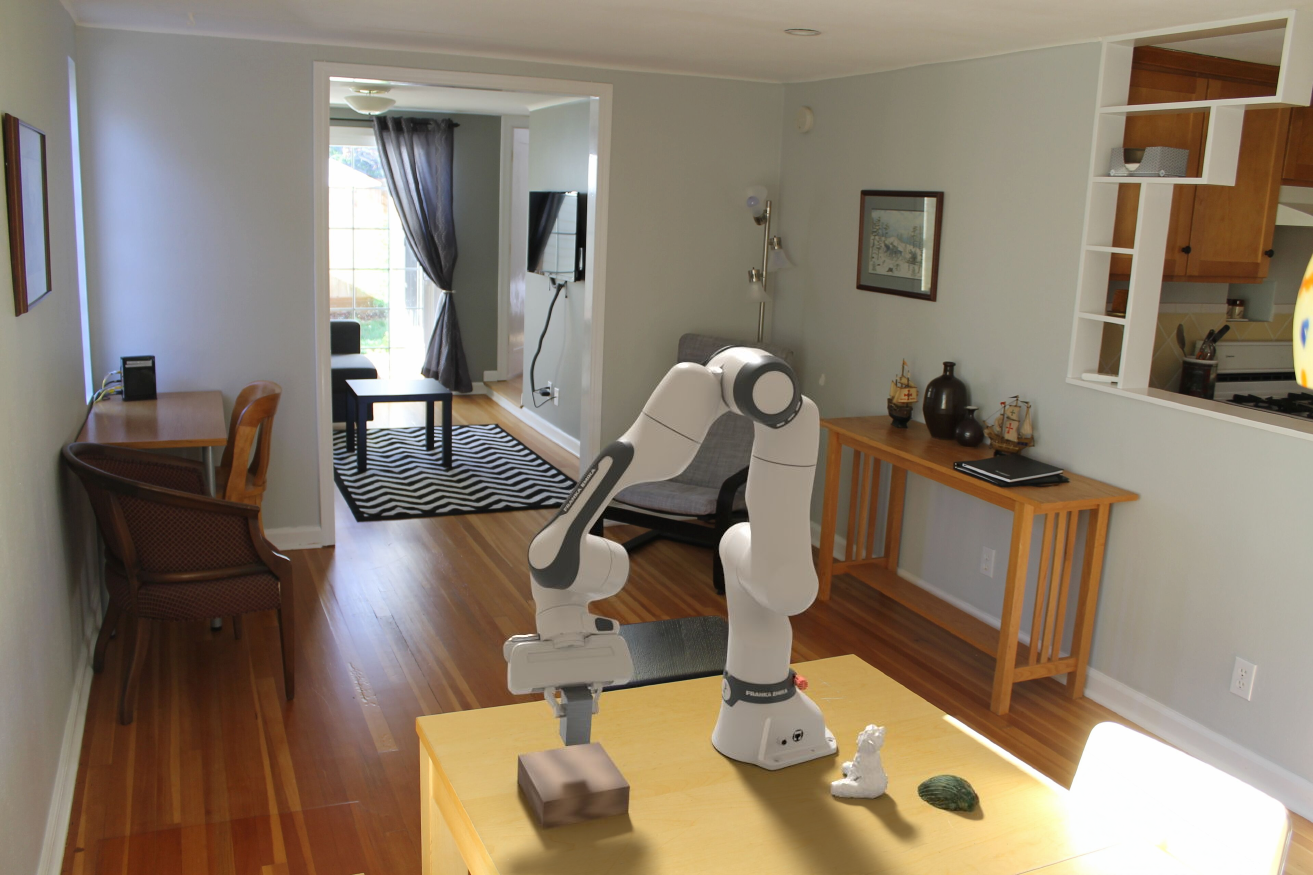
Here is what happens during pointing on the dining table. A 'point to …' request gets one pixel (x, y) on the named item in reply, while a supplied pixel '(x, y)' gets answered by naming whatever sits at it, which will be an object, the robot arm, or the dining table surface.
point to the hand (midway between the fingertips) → (577, 715)
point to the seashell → (948, 793)
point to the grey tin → (576, 715)
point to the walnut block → (572, 784)
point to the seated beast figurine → (864, 768)
